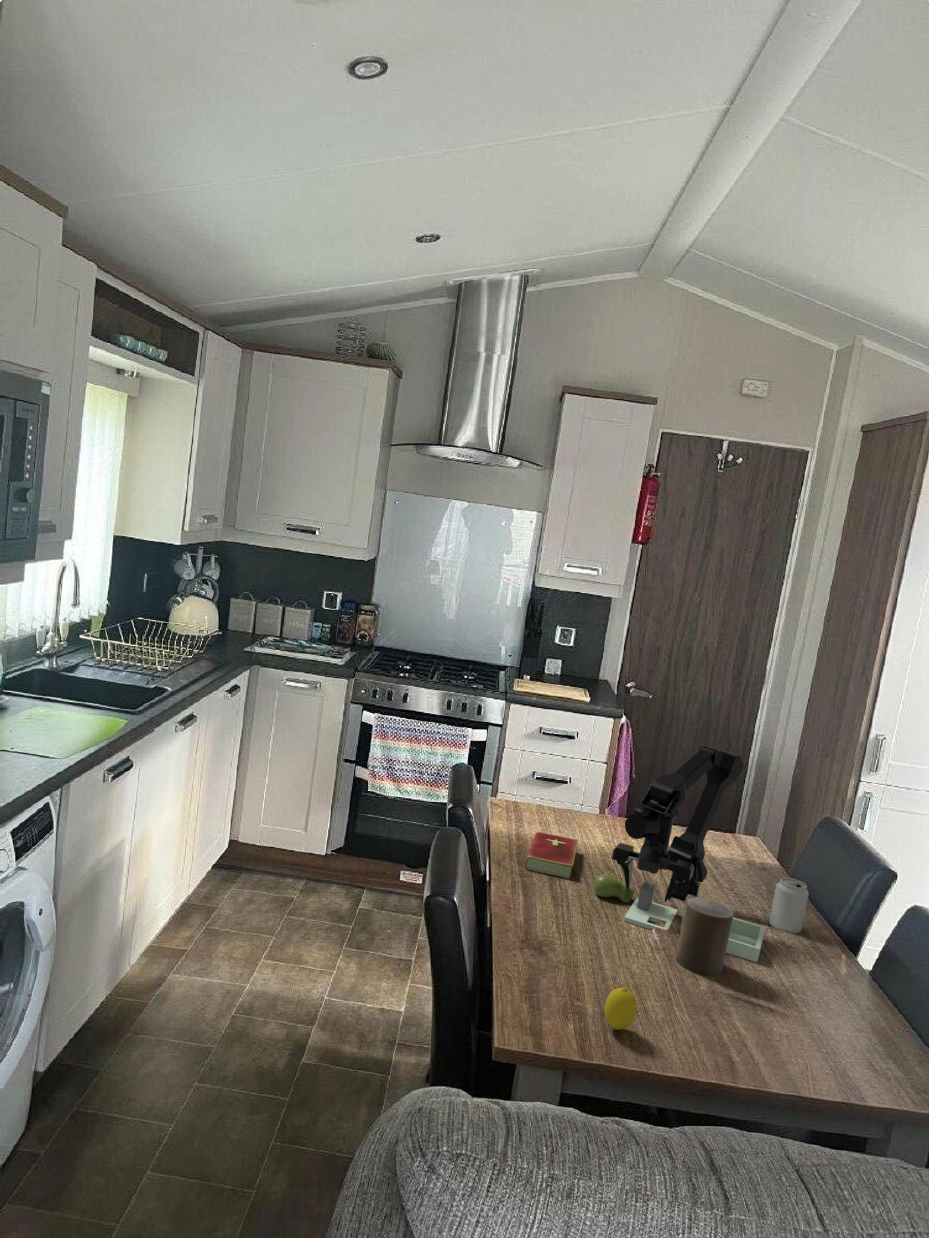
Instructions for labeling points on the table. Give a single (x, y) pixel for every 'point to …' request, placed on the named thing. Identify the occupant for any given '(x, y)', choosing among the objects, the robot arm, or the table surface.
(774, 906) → the can
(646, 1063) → the table surface
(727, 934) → the pillar candle
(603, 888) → the pear
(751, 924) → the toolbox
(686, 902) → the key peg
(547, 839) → the hardcover book
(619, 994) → the lemon
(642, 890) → the green slotted base
